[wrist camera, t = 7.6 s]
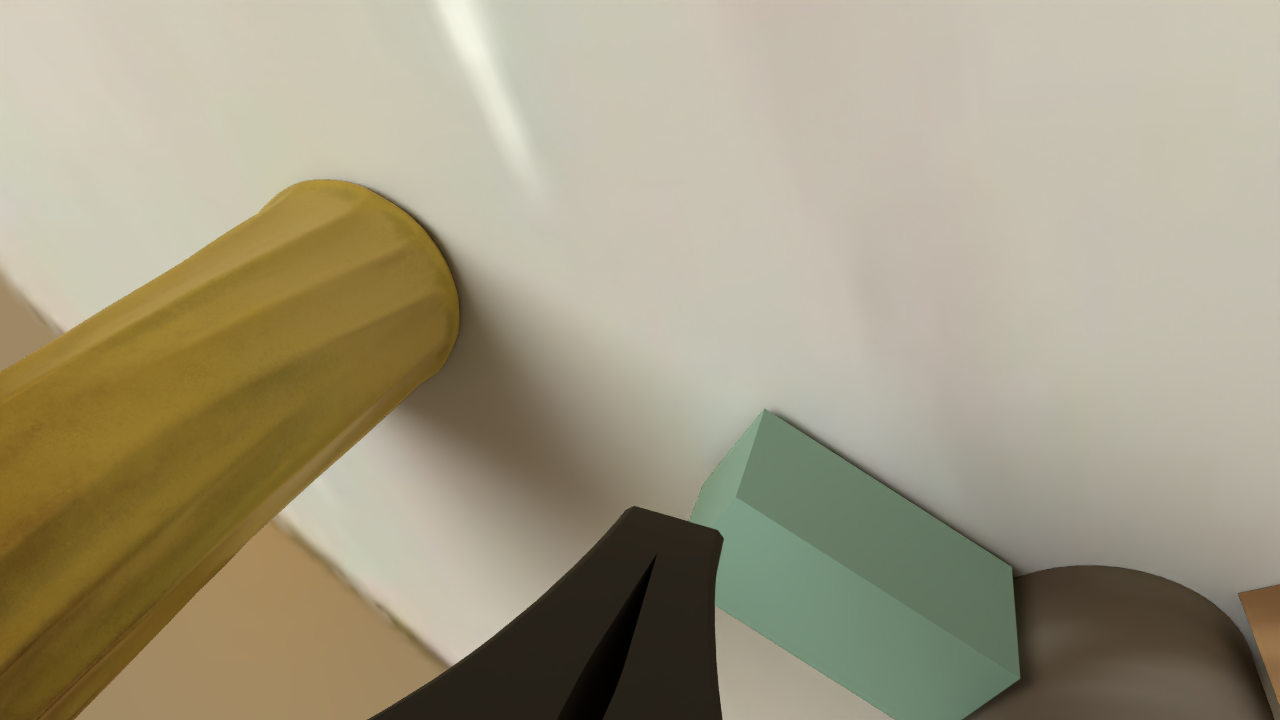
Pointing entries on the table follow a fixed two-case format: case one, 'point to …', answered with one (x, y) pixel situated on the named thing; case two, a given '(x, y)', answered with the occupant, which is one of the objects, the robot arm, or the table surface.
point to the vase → (198, 425)
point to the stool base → (1134, 650)
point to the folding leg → (858, 578)
